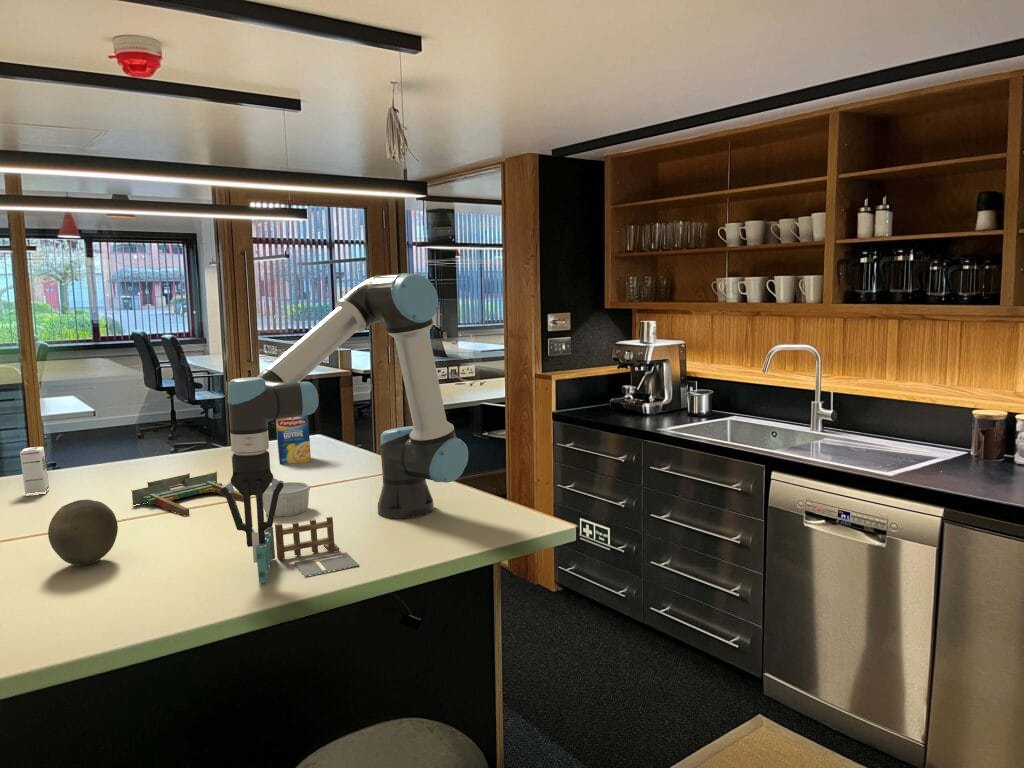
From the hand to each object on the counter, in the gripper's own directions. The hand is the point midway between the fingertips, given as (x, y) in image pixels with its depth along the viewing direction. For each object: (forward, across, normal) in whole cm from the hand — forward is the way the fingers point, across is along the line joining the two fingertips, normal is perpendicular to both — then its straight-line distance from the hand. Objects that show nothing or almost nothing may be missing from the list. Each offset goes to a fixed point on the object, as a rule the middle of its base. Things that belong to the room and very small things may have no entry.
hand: (257, 560), depth 168 cm
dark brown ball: (+5, -39, +22) cm, 45 cm away
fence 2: (+4, +10, +12) cm, 16 cm away
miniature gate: (+5, -23, +75) cm, 78 cm away
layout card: (+4, +14, +3) cm, 15 cm away
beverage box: (+4, +6, +118) cm, 119 cm away
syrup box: (+5, -72, +102) cm, 125 cm away
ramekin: (+4, +5, +51) cm, 52 cm away
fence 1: (+3, +2, +4) cm, 5 cm away
